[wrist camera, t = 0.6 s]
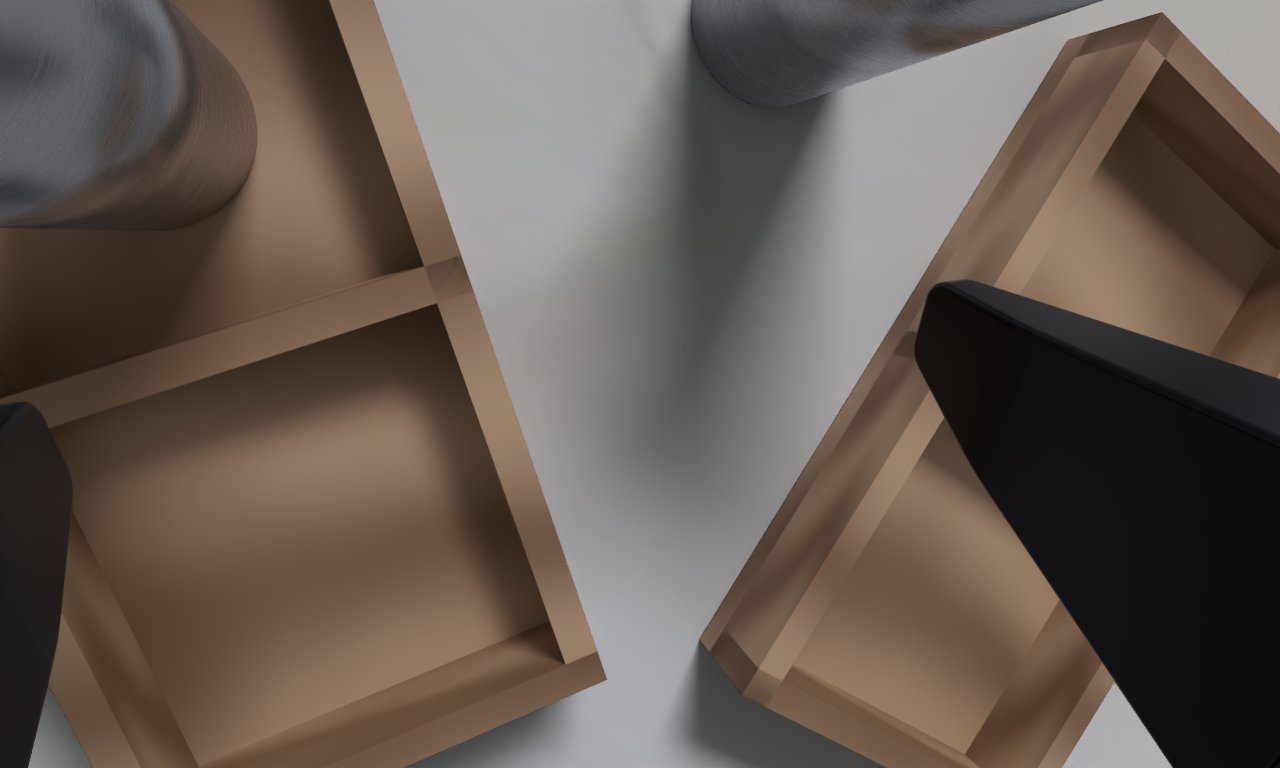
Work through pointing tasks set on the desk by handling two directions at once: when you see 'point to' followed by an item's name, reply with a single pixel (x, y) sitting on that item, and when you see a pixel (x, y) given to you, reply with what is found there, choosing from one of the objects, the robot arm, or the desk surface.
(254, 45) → the brown shallow tray
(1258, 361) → the wooden divided tray
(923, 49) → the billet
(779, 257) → the desk surface
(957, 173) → the desk surface
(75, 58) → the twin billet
